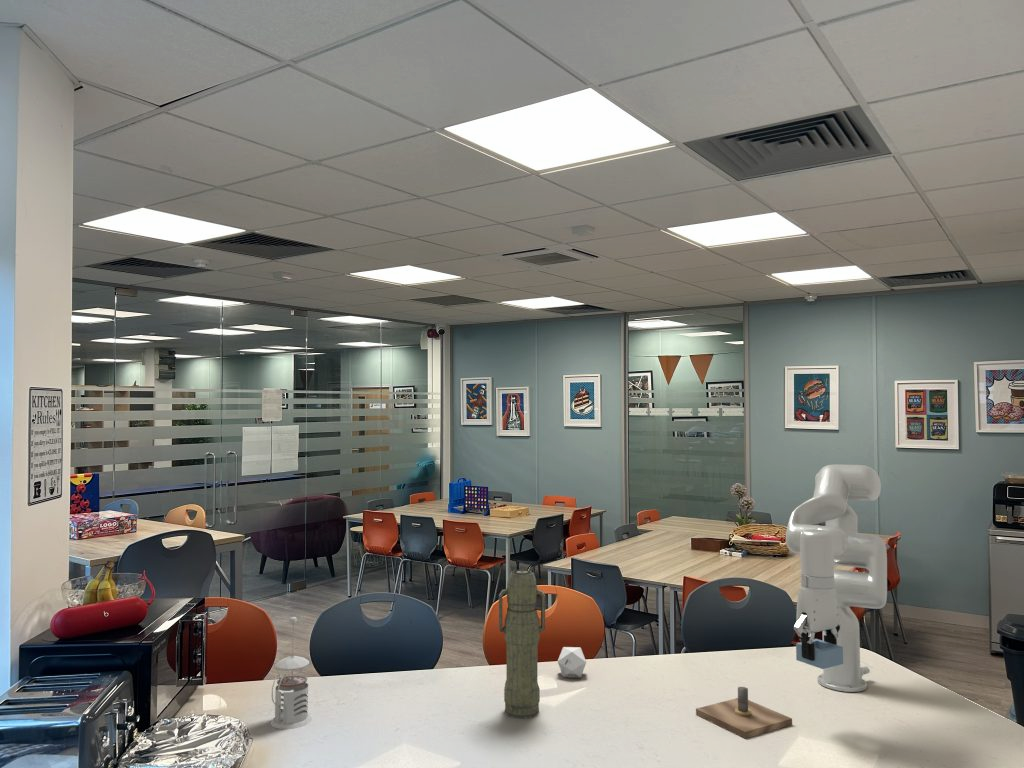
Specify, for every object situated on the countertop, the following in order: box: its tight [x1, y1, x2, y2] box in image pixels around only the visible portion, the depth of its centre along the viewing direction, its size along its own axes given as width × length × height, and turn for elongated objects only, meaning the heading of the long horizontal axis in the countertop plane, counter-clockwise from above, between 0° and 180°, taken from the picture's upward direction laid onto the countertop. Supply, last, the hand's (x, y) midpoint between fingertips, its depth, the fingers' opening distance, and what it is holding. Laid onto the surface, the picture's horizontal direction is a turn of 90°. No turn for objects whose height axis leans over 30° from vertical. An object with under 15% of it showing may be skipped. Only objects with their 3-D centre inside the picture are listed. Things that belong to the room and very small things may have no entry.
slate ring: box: [795, 638, 843, 670], centre depth 175 cm, size 7×7×4 cm
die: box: [557, 646, 587, 679], centre depth 211 cm, size 8×9×10 cm
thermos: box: [498, 569, 546, 719], centre depth 185 cm, size 9×12×35 cm
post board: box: [695, 686, 793, 739], centre depth 179 cm, size 16×16×8 cm
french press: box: [270, 616, 313, 730], centre depth 178 cm, size 10×12×25 cm
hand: (819, 655), depth 175 cm, fingers closed on slate ring, 7 cm apart
